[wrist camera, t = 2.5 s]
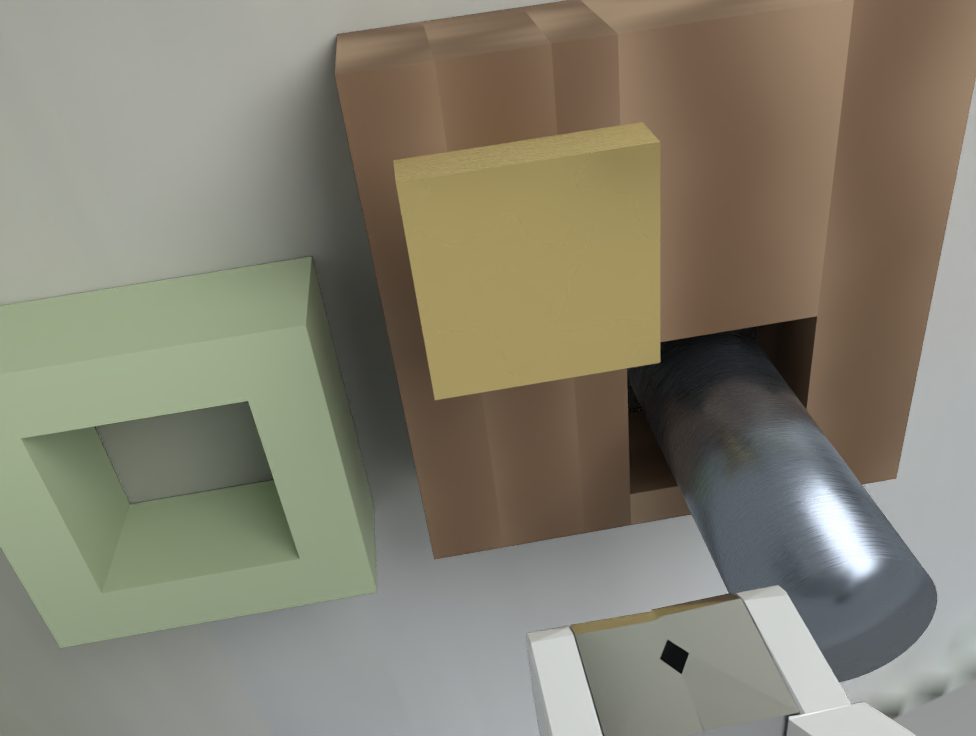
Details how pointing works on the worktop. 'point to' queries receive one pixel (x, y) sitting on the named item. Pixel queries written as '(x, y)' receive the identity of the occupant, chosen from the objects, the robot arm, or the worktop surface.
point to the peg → (782, 500)
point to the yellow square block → (535, 257)
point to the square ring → (194, 517)
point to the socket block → (679, 222)
